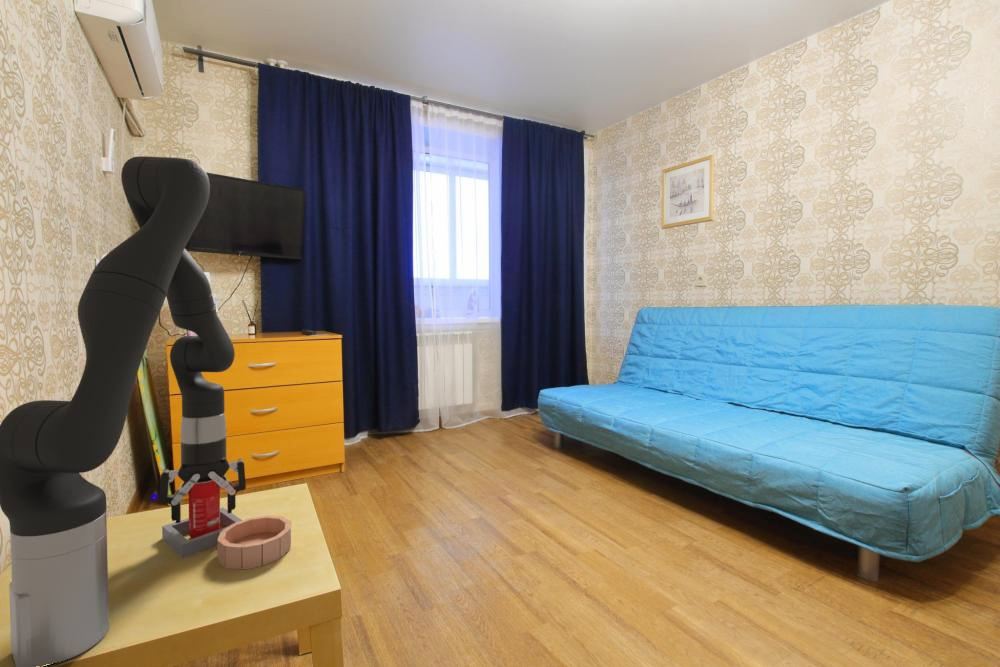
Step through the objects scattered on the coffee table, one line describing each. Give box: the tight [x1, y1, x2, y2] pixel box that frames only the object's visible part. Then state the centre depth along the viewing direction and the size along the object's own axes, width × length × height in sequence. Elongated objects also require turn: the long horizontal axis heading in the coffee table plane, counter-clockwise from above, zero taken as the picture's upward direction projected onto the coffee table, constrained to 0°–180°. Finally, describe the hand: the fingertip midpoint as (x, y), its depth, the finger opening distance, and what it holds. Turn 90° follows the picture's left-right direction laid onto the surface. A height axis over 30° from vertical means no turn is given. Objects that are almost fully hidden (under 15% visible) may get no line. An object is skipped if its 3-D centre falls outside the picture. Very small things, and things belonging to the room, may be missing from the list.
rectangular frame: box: [161, 507, 242, 559], centre depth 89 cm, size 11×11×2 cm
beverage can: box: [188, 480, 221, 539], centre depth 89 cm, size 5×5×12 cm
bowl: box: [216, 514, 292, 570], centre depth 85 cm, size 12×12×4 cm
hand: (204, 516), depth 89 cm, fingers open, 8 cm apart
